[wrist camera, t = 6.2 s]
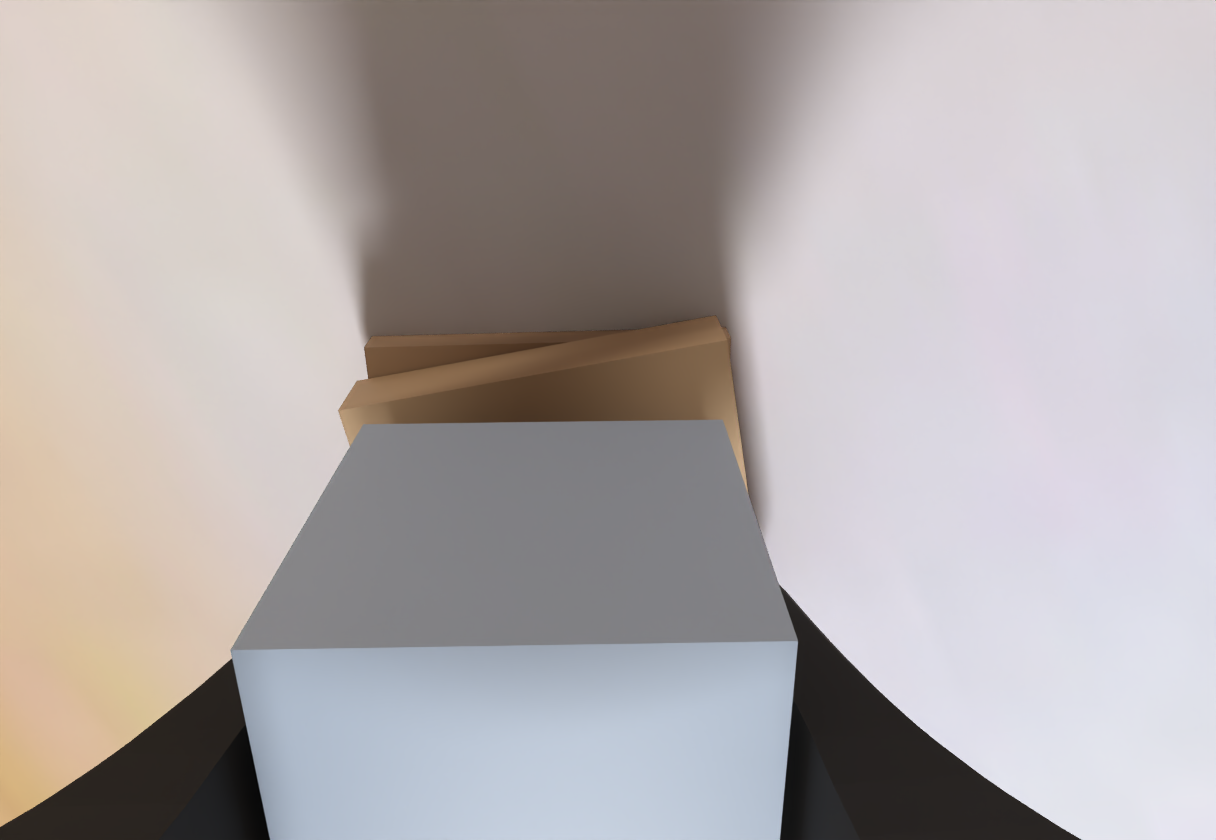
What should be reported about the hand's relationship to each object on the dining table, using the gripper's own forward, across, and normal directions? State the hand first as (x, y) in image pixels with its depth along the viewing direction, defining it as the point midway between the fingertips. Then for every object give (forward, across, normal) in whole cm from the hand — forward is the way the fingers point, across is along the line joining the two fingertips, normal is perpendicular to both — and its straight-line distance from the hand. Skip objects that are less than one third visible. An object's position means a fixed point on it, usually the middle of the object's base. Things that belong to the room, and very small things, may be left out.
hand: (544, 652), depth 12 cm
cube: (+2, 0, 0) cm, 2 cm away
